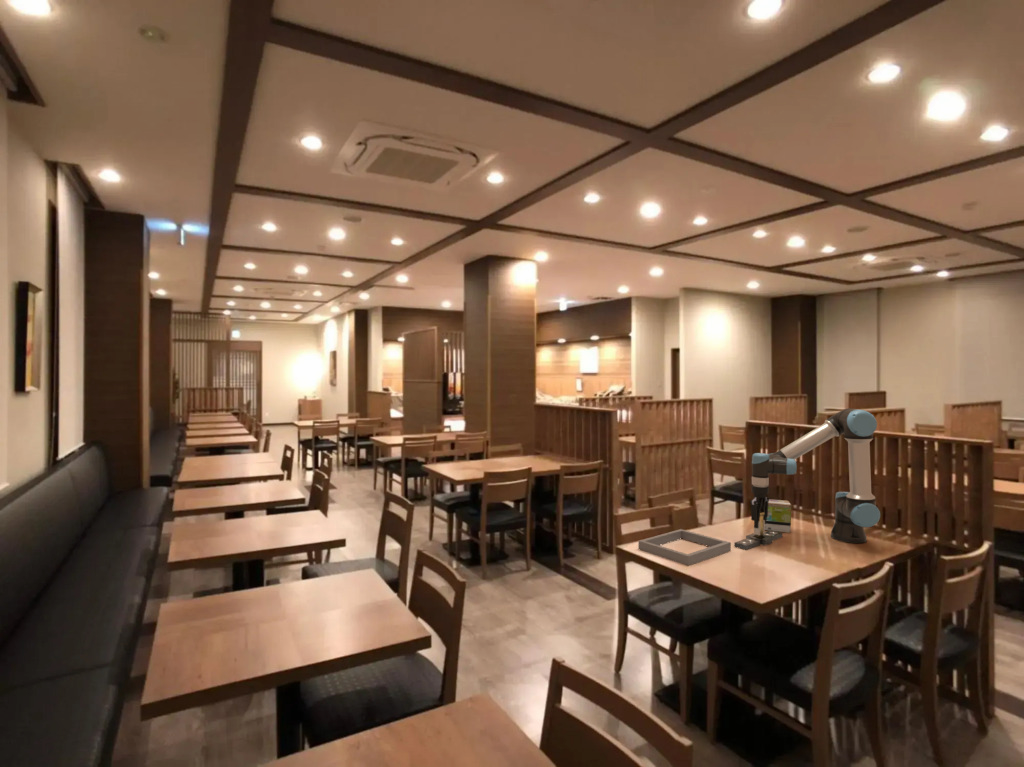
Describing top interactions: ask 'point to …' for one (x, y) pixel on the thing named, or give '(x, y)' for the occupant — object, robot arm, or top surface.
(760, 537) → the pin
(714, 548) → the frame
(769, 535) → the chain ends
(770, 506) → the tea box
